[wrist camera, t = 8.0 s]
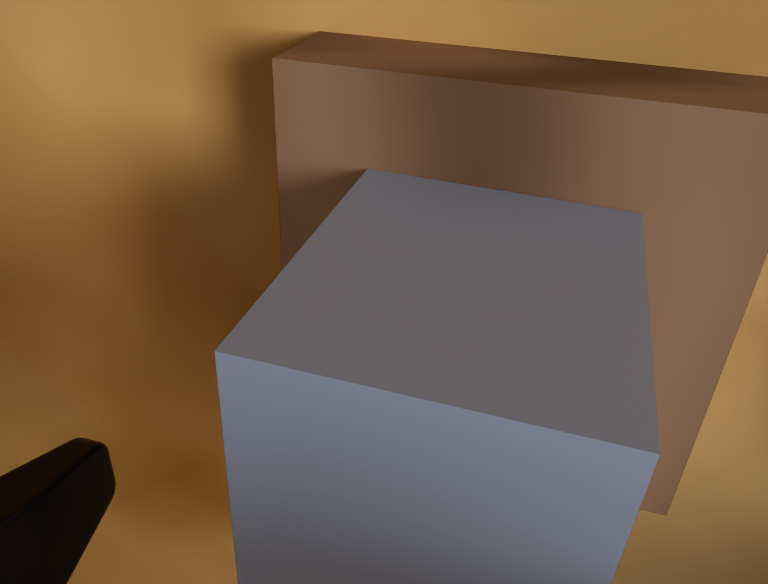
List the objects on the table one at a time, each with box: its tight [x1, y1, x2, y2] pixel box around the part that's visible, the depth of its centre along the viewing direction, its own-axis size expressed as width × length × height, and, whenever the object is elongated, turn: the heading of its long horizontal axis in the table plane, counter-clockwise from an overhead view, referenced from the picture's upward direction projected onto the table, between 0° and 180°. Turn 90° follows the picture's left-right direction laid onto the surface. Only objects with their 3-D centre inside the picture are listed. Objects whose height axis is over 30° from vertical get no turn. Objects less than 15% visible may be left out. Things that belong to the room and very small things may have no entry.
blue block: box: [215, 169, 660, 584], centre depth 11 cm, size 5×5×6 cm
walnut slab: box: [272, 31, 768, 515], centre depth 15 cm, size 9×9×3 cm
